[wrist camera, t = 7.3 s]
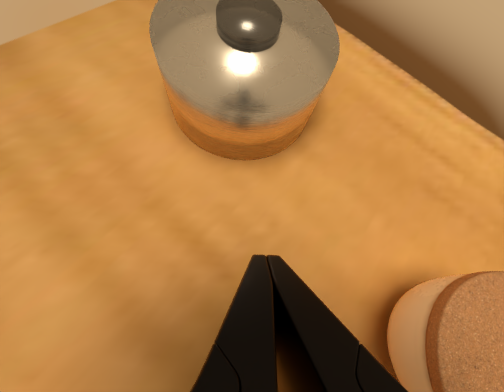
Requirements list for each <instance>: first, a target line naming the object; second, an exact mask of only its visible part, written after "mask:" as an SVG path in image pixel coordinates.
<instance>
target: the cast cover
mask: <svg viewBox="0 0 504 392" xmlns="http://www.w3.org/2000/svg"><path fill="white" fill-rule="evenodd" d="M150 38H151V43H152V46H153V49H154V52H155V56H156V59H157V62H158V65H159V69H160V72H161V75H162V78H163V82H164V85H165V88H166V91H167V95H168V98H169V101H170V104H171V108H172V111H173V114H174V117H175V120H176V122H177V123H178V125H179V127H180V128H181V130H182V131H183V133H184V134H185V135H186V136H187V137H188V138H189V139H190V140H191V141H192V142H194V143H195V144H196V145H197V146H199V147H201V148H202V149H204V150H206V151H208V152H210V153H212V154H214V155H217V156H221V157H224V158H229V159H234V160H256V159H261V158H265V157H269V156H272V155H274V154H276V153H279V152H281V151H282V150H284V149H286V148H287V147H288V146H290V145H291V144H292V143H293V142H294V141H295V140H296V139H297V138H298V137H299V135H300V134H301V132H302V131H303V129H304V127H305V125H306V123H307V121H308V119H309V117H310V115H311V113H312V111H313V109H314V107H315V105H316V103H317V101H318V99H319V97H320V95H321V93H322V92H323V90H324V88H325V86H326V84H327V82H328V80H329V78H330V76H331V74H332V72H333V70H334V68H335V65H336V63H337V60H338V55H339V37H338V33H337V30H336V26H335V24H334V22H333V20H332V18H331V17H330V15H329V14H328V12H327V11H326V9H325V8H324V7H323V6H322V5H321V4H320V3H319V2H318V1H317V0H158V2H157V4H156V5H155V7H154V10H153V12H152V15H151V19H150Z"/></svg>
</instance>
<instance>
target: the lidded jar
mask: <svg viewBox="0 0 504 392" xmlns="http://www.w3.org/2000/svg"><path fill="white" fill-rule="evenodd" d="M387 345H388V351H389V356H390V359H391V362H392V366H393V369H394V371H395V373H396V376H397V378H398V380H399V382H400V384H401V385H402V386H403V387H404V388H405V389H406V390H407V391H408V392H504V272H503V271H489V272H477V273H472V274H462V275H451V276H446V277H441V278H436V279H431V280H429V281H426V282H423V283H421V284H418V285H416V286H415V287H413V288H412V289H410V290H409V291H407V292H406V293H405V294H404V295H403V296H402V297H401V298H400V299H399V300H398V302H397V303H396V305H395V306H394V308H393V311H392V313H391V315H390V319H389V322H388V329H387Z"/></svg>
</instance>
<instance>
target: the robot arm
mask: <svg viewBox="0 0 504 392" xmlns="http://www.w3.org/2000/svg"><path fill="white" fill-rule="evenodd" d="M190 392H408V391H407V390H406V389H405V388H404V387H403V386H402V385H401V384H400V383H399V382H398V381H397V380H396V379H395V378H394V377H393V376H392V375H391V374H390V373H389V372H388V371H387V370H386V369H385V368H384V367H383V366H382V365H381V364H380V363H379V362H378V361H377V360H376V359H375V358H374V357H373V355H372V354H371V353H370V352H369V351H368V350H367V349H366V348H365V347H364V346H363V345H362V344H360V345H359V341H358V340H357V338H356V337H355V336H354V335H353V334H352V333H351V332H350V331H349V330H348V329H347V328H346V327H345V326H344V325H343V323H342V322H341V321H340V320H339V319H338V318H337V317H336V316H335V315H334V314H333V313H332V312H331V311H330V310H329V308H328V307H327V306H326V305H325V304H324V303H323V302H322V301H321V300H320V299H319V298H318V297H317V296H316V295H315V293H314V292H313V291H312V290H311V289H310V288H309V287H308V286H307V285H306V284H305V283H304V282H303V281H302V280H301V278H300V277H299V276H298V275H297V274H296V273H295V272H294V271H293V270H292V269H291V268H290V267H289V266H288V265H287V263H286V262H285V261H284V260H283V259H282V258H281V257H280V256H278V255H267V256H265V255H253V256H252V258H251V260H250V262H249V264H248V267H247V269H246V271H245V274H244V276H243V278H242V280H241V283H240V285H239V287H238V289H237V292H236V294H235V296H234V298H233V301H232V303H231V305H230V308H229V310H228V312H227V314H226V317H225V319H224V321H223V323H222V326H221V328H220V330H219V332H218V335H217V337H216V339H215V342H214V344H213V346H212V348H211V350H210V352H209V355H208V357H207V359H206V361H205V363H204V365H203V367H202V369H201V372H200V374H199V376H198V378H197V380H196V382H195V384H194V386H193V387H192V389H191V391H190Z"/></svg>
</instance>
